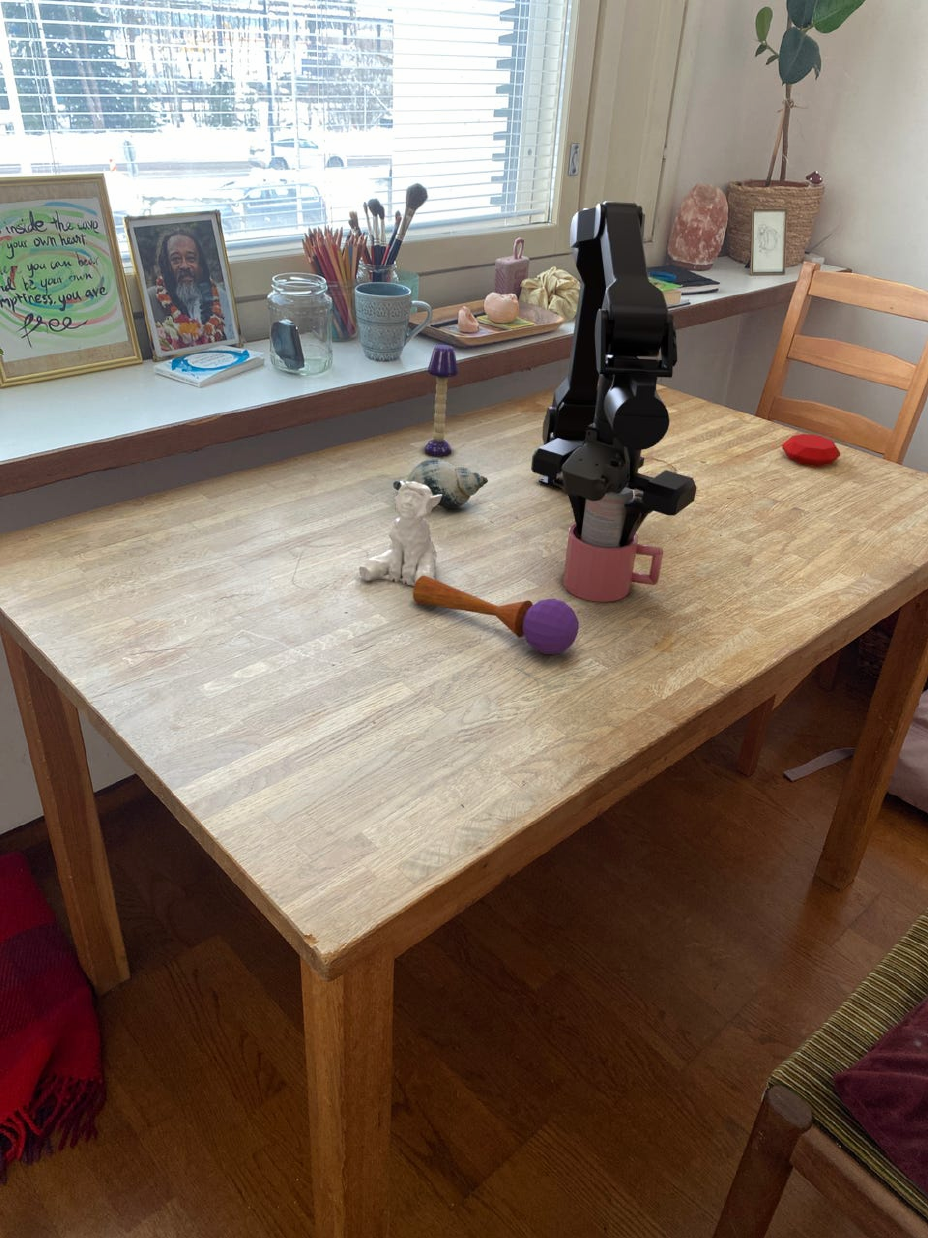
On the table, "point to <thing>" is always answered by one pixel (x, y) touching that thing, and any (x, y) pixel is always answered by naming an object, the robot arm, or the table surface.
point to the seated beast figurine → (407, 539)
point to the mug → (606, 568)
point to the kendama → (510, 614)
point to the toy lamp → (441, 395)
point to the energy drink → (605, 519)
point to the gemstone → (811, 450)
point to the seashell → (445, 481)
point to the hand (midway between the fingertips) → (602, 541)
